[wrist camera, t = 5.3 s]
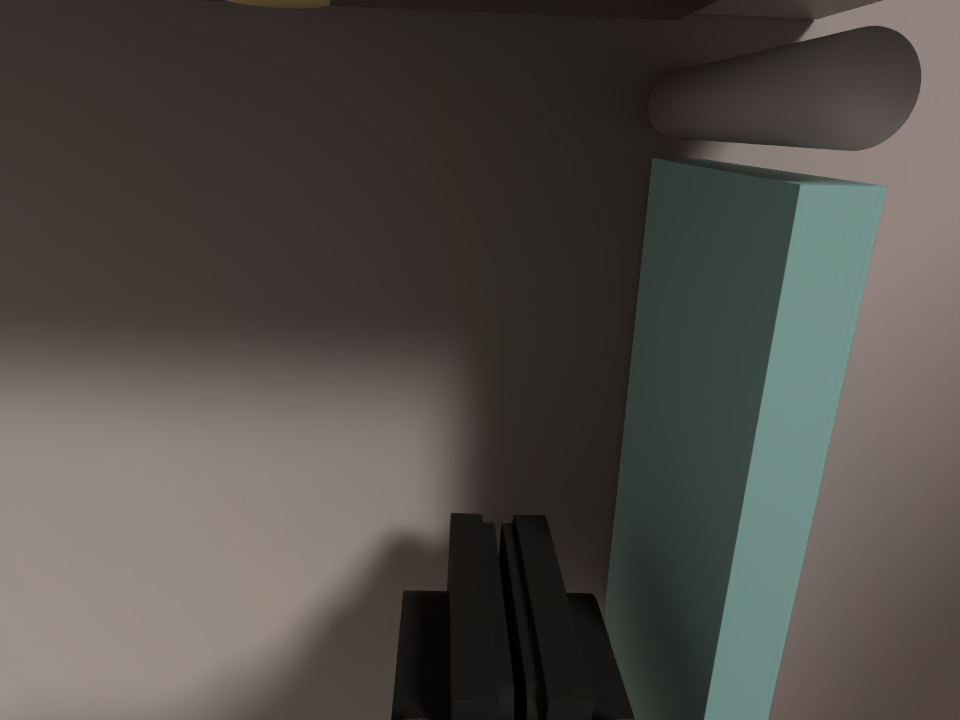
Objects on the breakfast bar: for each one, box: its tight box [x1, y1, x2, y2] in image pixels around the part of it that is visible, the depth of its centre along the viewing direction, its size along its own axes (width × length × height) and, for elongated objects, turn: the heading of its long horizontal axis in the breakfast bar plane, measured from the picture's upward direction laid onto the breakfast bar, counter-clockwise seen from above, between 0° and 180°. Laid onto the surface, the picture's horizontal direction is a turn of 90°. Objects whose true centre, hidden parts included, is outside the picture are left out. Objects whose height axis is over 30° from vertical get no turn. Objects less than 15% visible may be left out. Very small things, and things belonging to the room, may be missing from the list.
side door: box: [604, 26, 921, 720], centre depth 10 cm, size 10×2×5 cm, turn 179°
